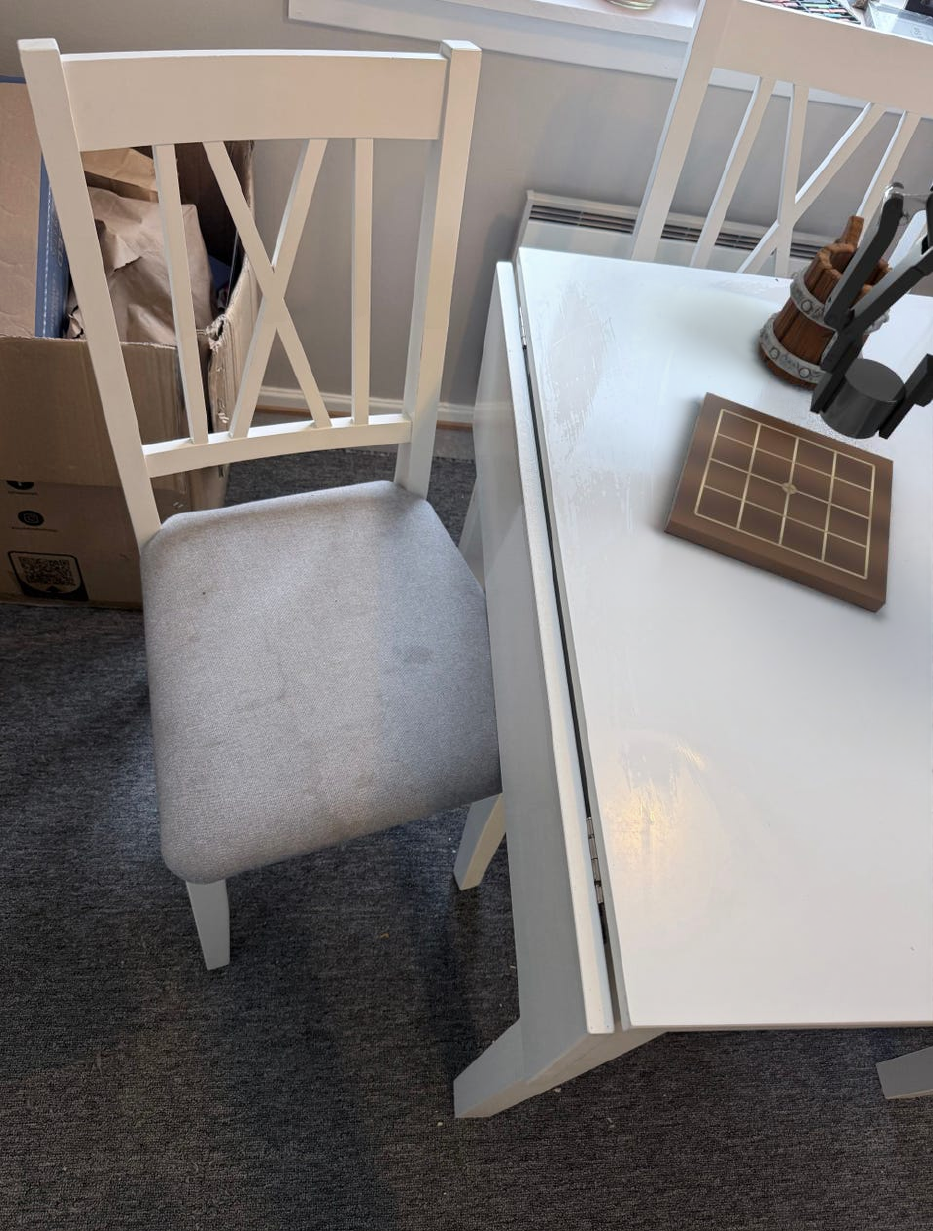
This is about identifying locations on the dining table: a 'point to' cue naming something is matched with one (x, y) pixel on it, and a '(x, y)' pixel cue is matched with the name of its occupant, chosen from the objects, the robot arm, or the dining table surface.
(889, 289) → the robot arm
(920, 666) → the dining table surface
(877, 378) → the dark grey puck
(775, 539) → the board
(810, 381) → the mug
